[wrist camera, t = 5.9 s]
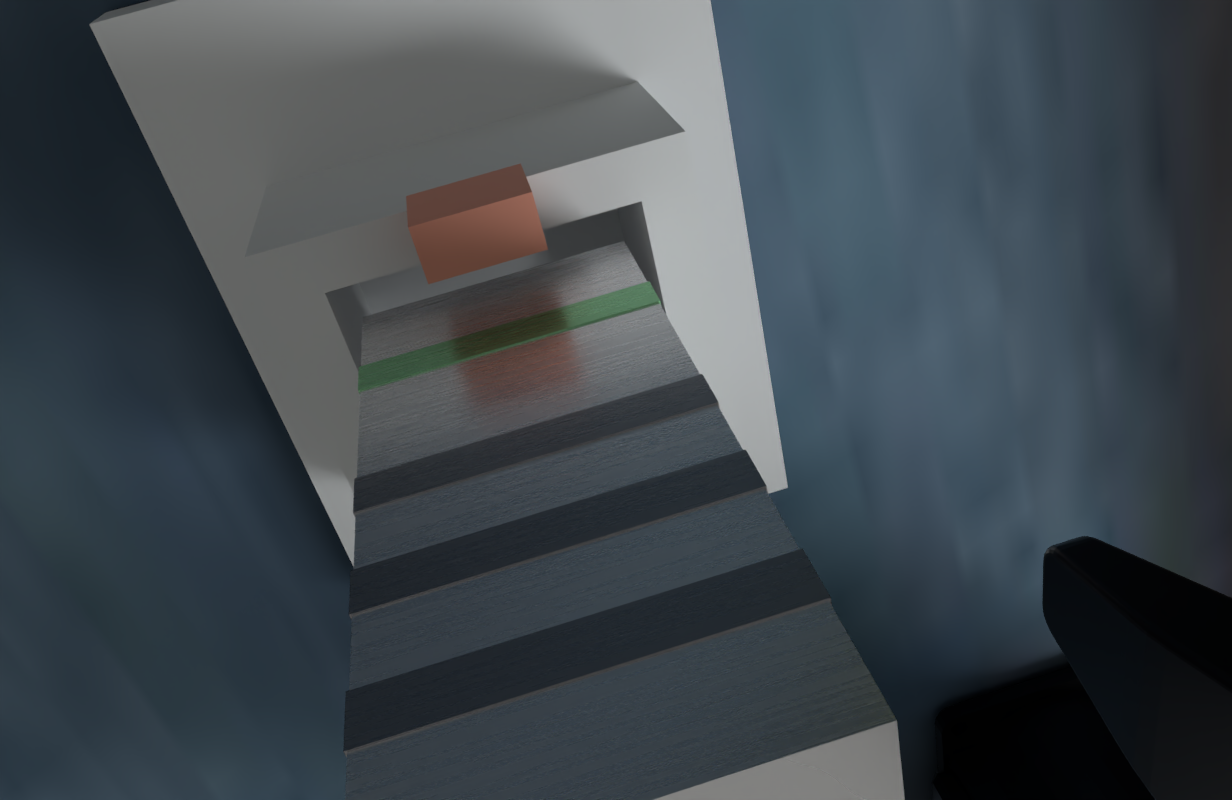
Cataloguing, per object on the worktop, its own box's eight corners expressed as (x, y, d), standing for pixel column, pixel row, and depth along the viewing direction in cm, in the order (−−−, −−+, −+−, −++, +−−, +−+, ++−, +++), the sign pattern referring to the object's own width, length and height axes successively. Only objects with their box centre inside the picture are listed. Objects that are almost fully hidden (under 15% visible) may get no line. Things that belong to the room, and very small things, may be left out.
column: (625, 239, 14) (899, 716, 7) (674, 453, 16) (927, 1003, 9) (360, 316, 14) (337, 901, 6) (444, 524, 16) (501, 1150, 8)
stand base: (671, -141, 16) (786, -122, 11) (772, 461, 22) (870, 623, 18) (105, 11, 15) (-8, 94, 11) (376, 583, 21) (375, 781, 17)
